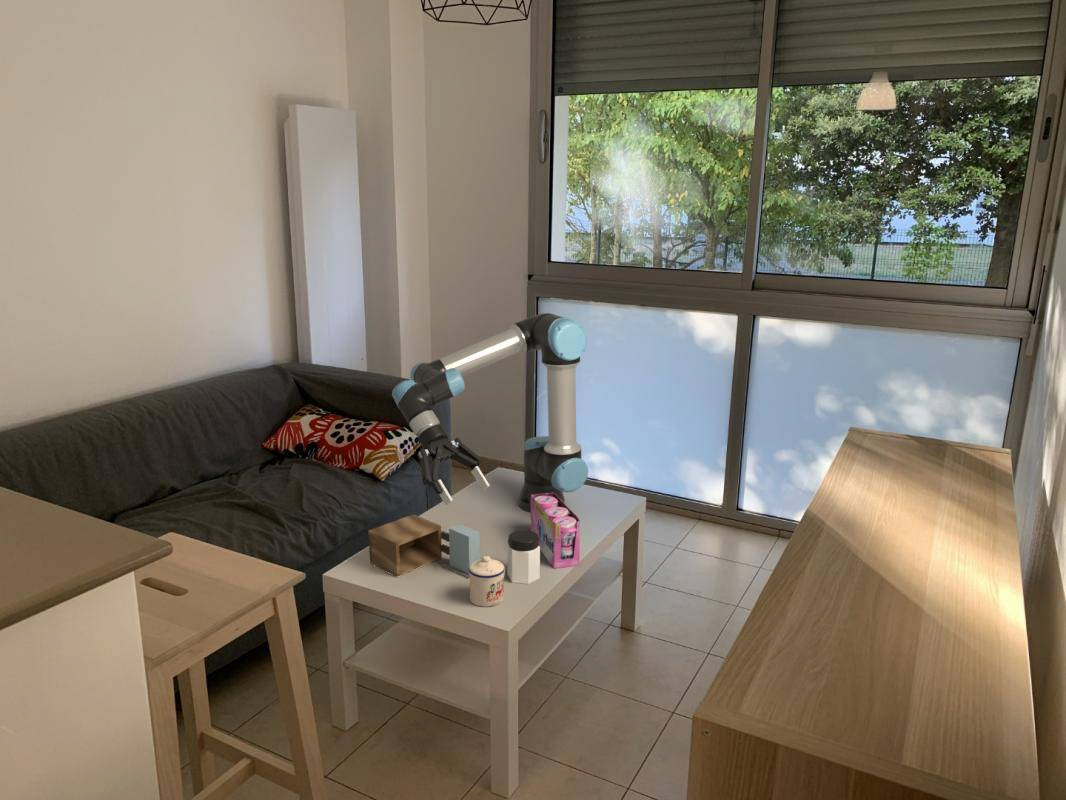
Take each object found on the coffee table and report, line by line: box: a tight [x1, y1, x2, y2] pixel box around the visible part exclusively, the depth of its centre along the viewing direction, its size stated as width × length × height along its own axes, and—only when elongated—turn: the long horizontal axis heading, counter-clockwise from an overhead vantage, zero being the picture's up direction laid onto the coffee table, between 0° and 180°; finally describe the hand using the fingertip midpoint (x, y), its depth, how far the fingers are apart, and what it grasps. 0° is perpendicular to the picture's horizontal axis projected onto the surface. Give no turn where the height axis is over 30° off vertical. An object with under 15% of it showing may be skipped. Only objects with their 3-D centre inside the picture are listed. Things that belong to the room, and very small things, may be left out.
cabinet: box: [368, 513, 470, 579], centre depth 227 cm, size 20×26×10 cm
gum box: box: [530, 493, 581, 569], centre depth 237 cm, size 24×8×14 cm, turn 17°
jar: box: [506, 529, 541, 585], centre depth 221 cm, size 9×8×12 cm
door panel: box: [448, 523, 481, 574], centre depth 226 cm, size 8×4×11 cm, turn 47°
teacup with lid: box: [469, 555, 506, 608], centre depth 210 cm, size 12×9×12 cm
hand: (468, 495), depth 220 cm, fingers open, 13 cm apart
